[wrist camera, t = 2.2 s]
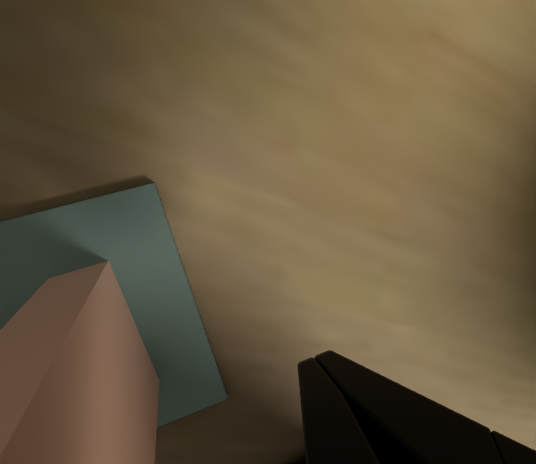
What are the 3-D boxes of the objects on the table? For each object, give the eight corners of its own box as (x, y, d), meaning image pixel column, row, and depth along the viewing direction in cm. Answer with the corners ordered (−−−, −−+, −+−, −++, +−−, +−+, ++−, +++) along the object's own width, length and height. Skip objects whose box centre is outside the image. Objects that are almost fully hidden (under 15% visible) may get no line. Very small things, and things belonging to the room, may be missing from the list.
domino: (159, 380, 12) (135, 783, 4) (109, 399, 11) (-9, 873, 4) (108, 260, 10) (-65, 575, 3) (48, 278, 10) (-337, 693, 2)
